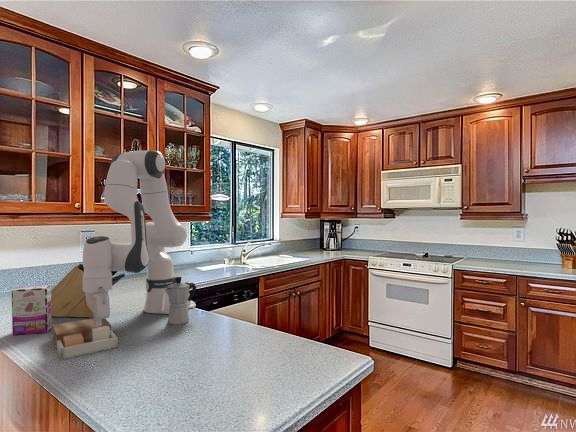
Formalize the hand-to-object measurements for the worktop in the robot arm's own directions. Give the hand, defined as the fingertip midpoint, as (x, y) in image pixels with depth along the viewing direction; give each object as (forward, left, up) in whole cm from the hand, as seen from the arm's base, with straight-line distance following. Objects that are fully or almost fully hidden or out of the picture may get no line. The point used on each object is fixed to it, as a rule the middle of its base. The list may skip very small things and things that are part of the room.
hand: (97, 325), depth 123 cm
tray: (+4, +5, -6) cm, 8 cm away
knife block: (-1, -38, -6) cm, 39 cm away
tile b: (+8, +4, -3) cm, 9 cm away
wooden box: (+4, -6, -6) cm, 9 cm away
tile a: (0, +2, -3) cm, 3 cm away
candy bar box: (+17, -25, -6) cm, 31 cm away
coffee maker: (-31, -5, -6) cm, 32 cm away
